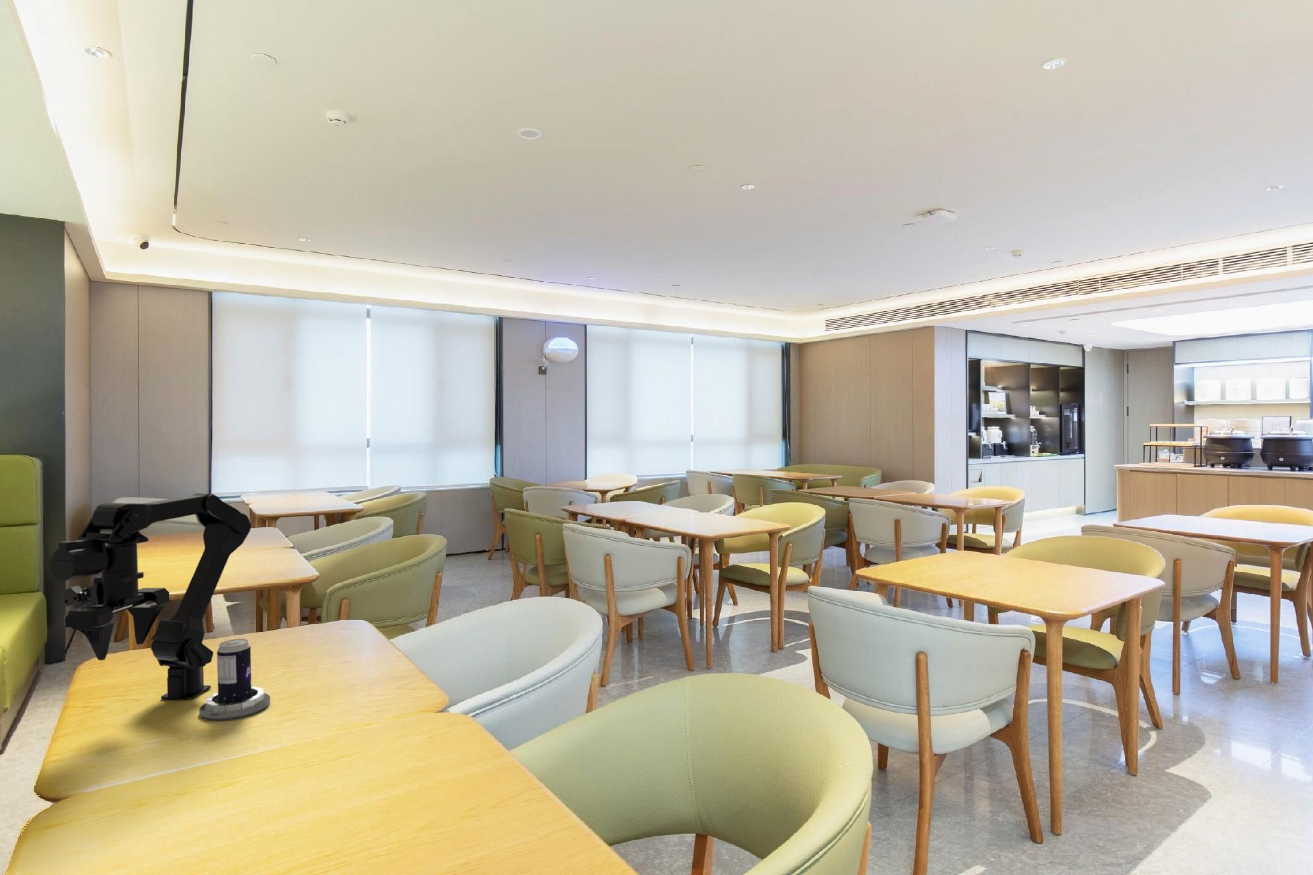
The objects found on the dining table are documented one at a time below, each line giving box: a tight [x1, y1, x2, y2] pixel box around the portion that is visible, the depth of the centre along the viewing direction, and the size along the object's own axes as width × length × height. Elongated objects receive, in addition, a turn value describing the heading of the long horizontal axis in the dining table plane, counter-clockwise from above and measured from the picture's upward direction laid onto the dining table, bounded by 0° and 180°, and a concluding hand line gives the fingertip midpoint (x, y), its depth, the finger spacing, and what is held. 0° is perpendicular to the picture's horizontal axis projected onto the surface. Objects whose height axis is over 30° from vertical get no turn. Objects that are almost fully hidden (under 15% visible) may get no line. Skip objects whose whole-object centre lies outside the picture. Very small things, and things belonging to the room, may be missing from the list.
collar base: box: [198, 686, 271, 722], centre depth 143 cm, size 12×12×2 cm
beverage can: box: [216, 638, 252, 704], centre depth 143 cm, size 6×6×12 cm
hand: (121, 651), depth 137 cm, fingers open, 9 cm apart
